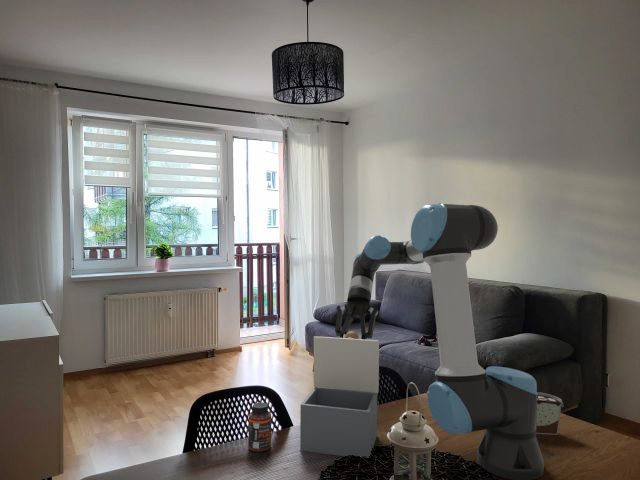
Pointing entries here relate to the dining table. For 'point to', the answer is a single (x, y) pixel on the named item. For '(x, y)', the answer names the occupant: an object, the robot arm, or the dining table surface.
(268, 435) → the supplement bottle
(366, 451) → the grey box
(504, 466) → the robot arm
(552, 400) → the food container
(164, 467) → the dining table surface
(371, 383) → the lid
